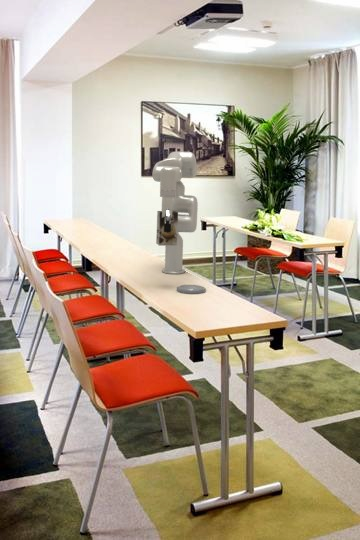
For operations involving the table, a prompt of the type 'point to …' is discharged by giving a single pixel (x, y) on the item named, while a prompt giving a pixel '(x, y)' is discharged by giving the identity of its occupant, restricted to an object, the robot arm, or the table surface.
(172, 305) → the table surface
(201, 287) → the dish
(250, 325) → the table surface
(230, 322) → the table surface
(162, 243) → the coffee box
